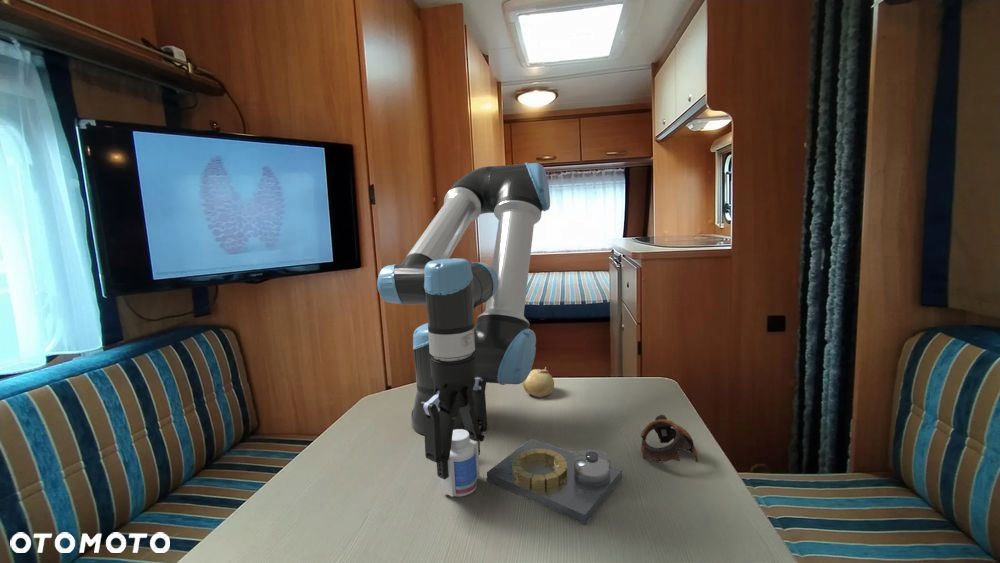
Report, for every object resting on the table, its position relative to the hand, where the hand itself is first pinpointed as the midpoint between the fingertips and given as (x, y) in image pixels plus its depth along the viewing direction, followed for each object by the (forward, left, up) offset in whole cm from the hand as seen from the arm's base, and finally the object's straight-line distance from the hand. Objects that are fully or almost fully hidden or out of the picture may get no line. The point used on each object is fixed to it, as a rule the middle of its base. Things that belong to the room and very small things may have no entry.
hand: (460, 483), depth 74 cm
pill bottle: (0, 0, -1) cm, 1 cm away
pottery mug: (+26, +29, -1) cm, 39 cm away
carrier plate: (+12, +11, -1) cm, 16 cm away
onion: (-10, +40, -1) cm, 41 cm away
